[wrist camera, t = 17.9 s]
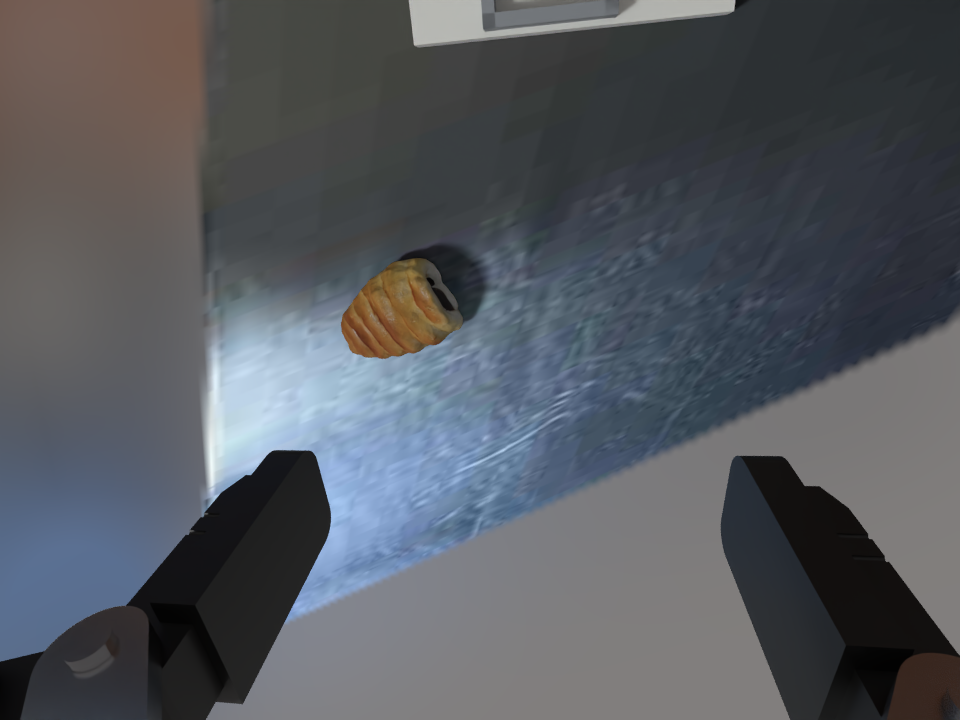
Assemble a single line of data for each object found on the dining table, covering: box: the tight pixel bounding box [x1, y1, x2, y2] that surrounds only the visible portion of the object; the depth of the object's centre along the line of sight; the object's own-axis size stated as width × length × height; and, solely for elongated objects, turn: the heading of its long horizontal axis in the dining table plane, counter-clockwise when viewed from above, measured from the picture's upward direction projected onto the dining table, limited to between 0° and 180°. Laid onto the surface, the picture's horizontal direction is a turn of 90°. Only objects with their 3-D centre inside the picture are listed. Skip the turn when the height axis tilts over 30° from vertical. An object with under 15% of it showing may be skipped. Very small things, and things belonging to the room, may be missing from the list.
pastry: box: [341, 258, 463, 359], centre depth 38 cm, size 9×7×4 cm
